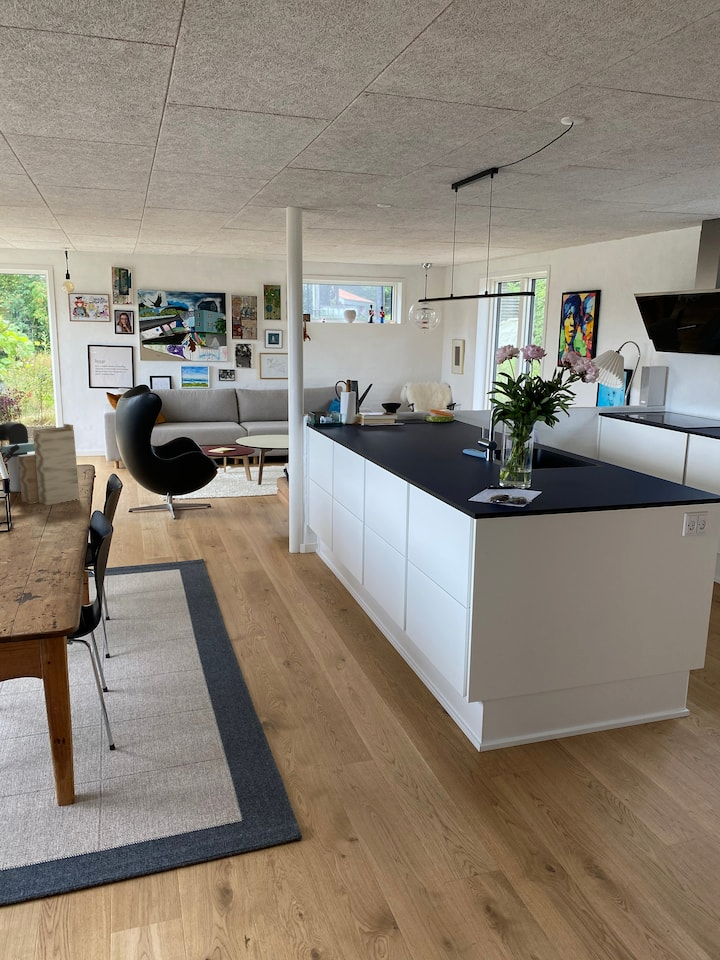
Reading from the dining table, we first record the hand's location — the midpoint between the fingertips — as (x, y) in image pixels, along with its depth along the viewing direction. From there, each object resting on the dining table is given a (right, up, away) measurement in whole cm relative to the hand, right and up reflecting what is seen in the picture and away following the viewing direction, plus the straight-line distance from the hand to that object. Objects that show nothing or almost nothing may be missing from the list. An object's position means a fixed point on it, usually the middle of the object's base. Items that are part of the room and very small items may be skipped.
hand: (16, 445), depth 326 cm
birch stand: (+16, -25, +9) cm, 31 cm away
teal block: (+4, -2, +5) cm, 6 cm away
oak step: (+6, -24, +12) cm, 28 cm away
